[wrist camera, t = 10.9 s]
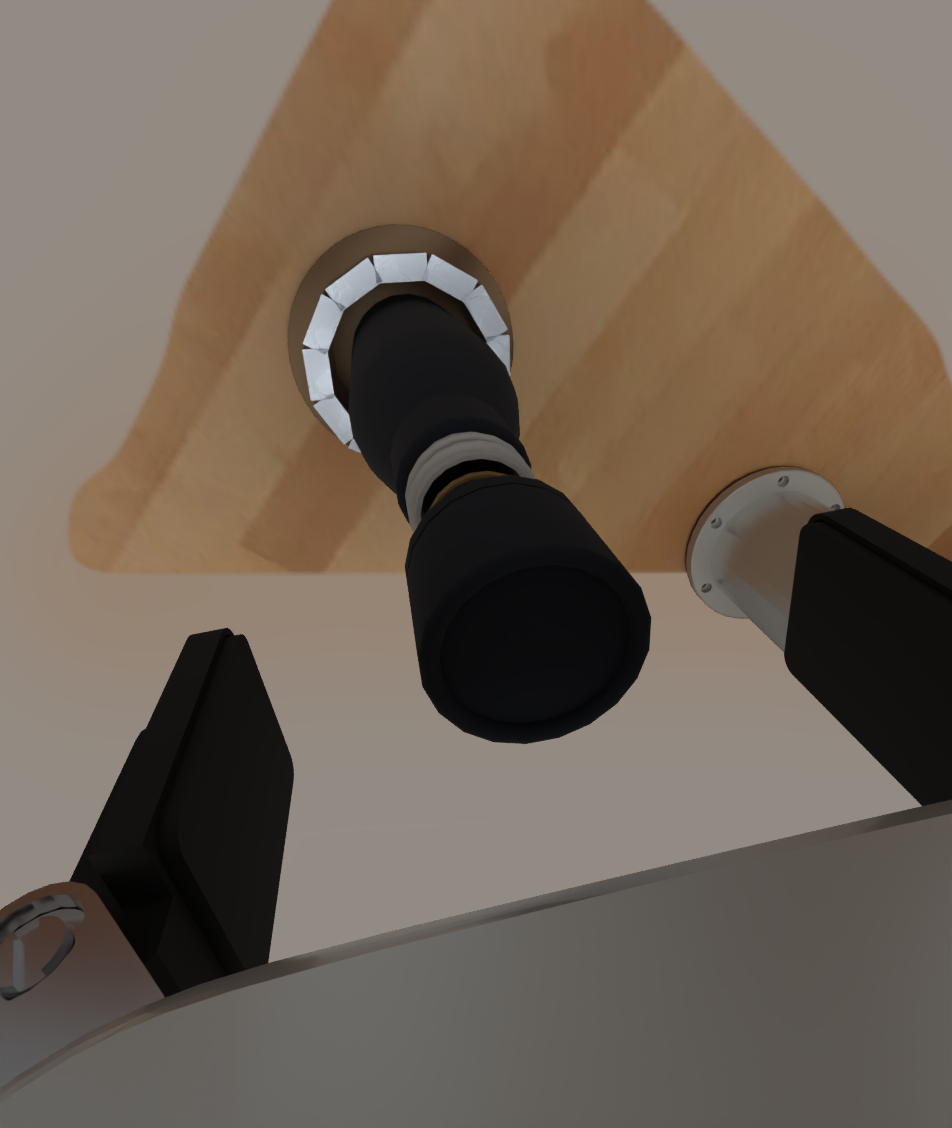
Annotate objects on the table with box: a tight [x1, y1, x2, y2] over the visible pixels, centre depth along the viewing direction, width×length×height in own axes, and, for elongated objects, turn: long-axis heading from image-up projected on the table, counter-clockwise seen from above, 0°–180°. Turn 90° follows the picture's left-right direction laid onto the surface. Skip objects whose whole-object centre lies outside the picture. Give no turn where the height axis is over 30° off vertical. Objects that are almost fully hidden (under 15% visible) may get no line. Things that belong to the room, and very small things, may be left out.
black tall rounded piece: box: [348, 294, 651, 744], centre depth 23 cm, size 6×6×30 cm
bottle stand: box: [288, 225, 513, 454], centre depth 34 cm, size 13×13×6 cm
